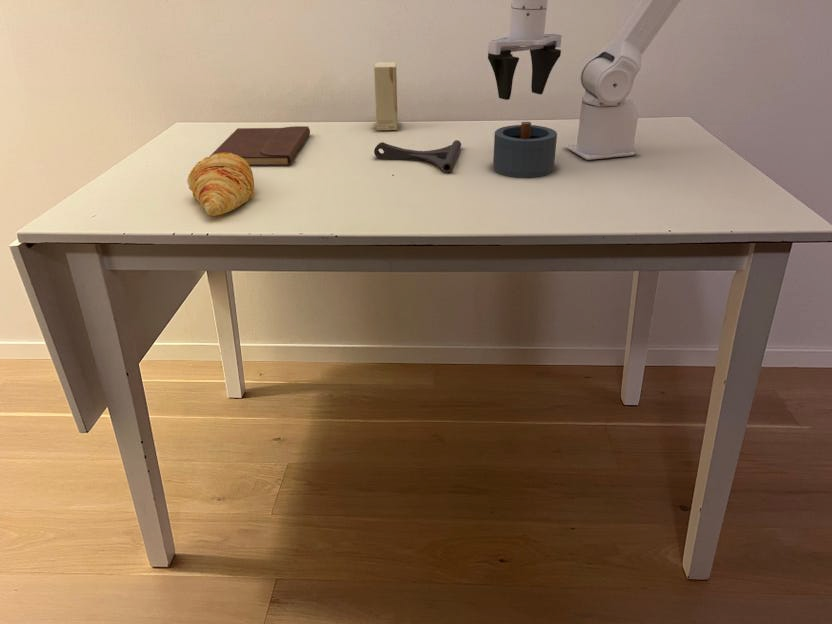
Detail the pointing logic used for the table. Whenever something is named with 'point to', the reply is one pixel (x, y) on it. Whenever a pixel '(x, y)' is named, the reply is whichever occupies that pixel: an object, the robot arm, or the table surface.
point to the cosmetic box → (386, 95)
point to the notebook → (266, 145)
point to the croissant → (221, 182)
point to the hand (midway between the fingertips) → (520, 96)
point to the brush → (525, 130)
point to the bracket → (421, 154)
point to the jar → (524, 151)
